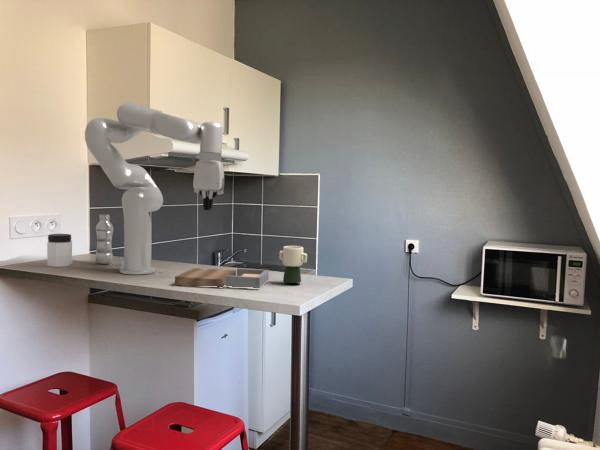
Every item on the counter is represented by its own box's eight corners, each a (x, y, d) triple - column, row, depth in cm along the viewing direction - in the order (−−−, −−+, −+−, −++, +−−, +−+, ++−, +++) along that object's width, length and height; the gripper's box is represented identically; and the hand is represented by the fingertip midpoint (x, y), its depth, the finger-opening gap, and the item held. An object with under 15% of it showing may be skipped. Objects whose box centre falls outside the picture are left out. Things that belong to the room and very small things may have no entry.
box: (225, 288, 164) (226, 276, 163) (237, 279, 179) (237, 268, 179) (259, 290, 162) (259, 277, 162) (268, 281, 178) (268, 269, 178)
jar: (52, 263, 199) (52, 233, 198) (73, 263, 201) (73, 233, 200) (44, 267, 190) (44, 235, 190) (67, 267, 192) (67, 236, 191)
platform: (174, 285, 164) (175, 276, 164) (192, 276, 182) (192, 268, 182) (222, 288, 163) (222, 279, 162) (235, 278, 181) (236, 270, 180)
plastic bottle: (97, 262, 205) (97, 213, 203) (114, 262, 206) (115, 214, 204) (93, 265, 198) (93, 214, 197) (110, 265, 199) (111, 215, 198)
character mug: (310, 284, 175) (312, 247, 174) (301, 287, 168) (302, 249, 167) (283, 280, 180) (284, 244, 179) (273, 283, 174) (274, 246, 173)
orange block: (258, 277, 167) (258, 288, 167) (261, 274, 173) (260, 284, 173) (240, 276, 167) (240, 287, 167) (244, 273, 173) (243, 283, 173)
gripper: (186, 156, 174) (183, 209, 175) (227, 158, 172) (224, 212, 173) (194, 157, 181) (191, 208, 183) (233, 160, 179) (231, 211, 180)
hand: (207, 209), depth 178 cm, fingers closed
